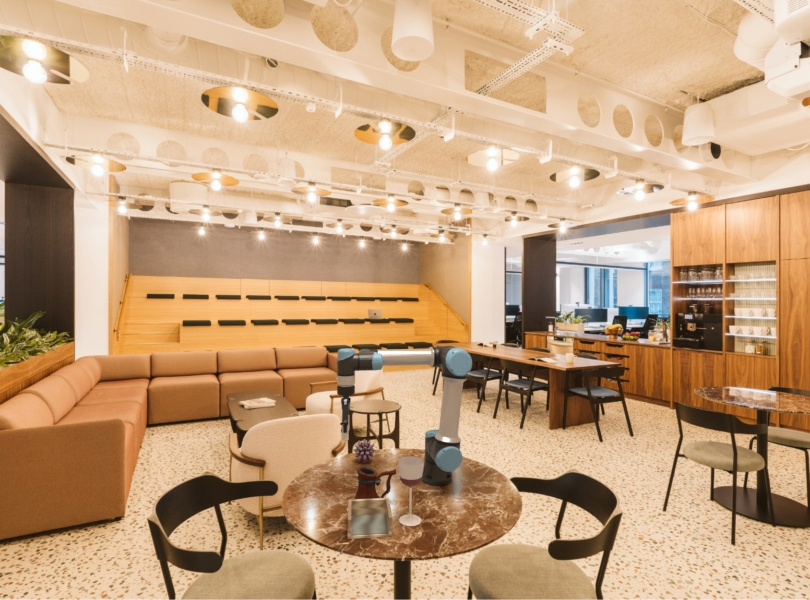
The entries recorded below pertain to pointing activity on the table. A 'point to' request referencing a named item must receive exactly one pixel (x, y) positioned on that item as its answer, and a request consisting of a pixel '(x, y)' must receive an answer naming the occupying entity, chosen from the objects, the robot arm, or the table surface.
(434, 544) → the table surface
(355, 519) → the square tray
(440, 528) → the table surface
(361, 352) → the robot arm
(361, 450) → the flower
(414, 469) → the wineglass
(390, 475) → the brown pitcher
